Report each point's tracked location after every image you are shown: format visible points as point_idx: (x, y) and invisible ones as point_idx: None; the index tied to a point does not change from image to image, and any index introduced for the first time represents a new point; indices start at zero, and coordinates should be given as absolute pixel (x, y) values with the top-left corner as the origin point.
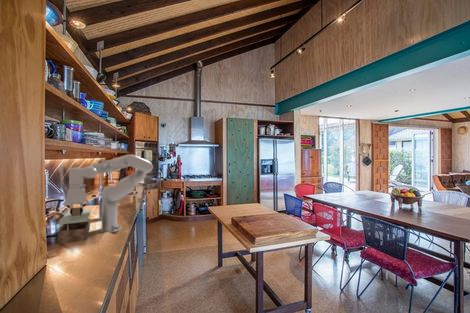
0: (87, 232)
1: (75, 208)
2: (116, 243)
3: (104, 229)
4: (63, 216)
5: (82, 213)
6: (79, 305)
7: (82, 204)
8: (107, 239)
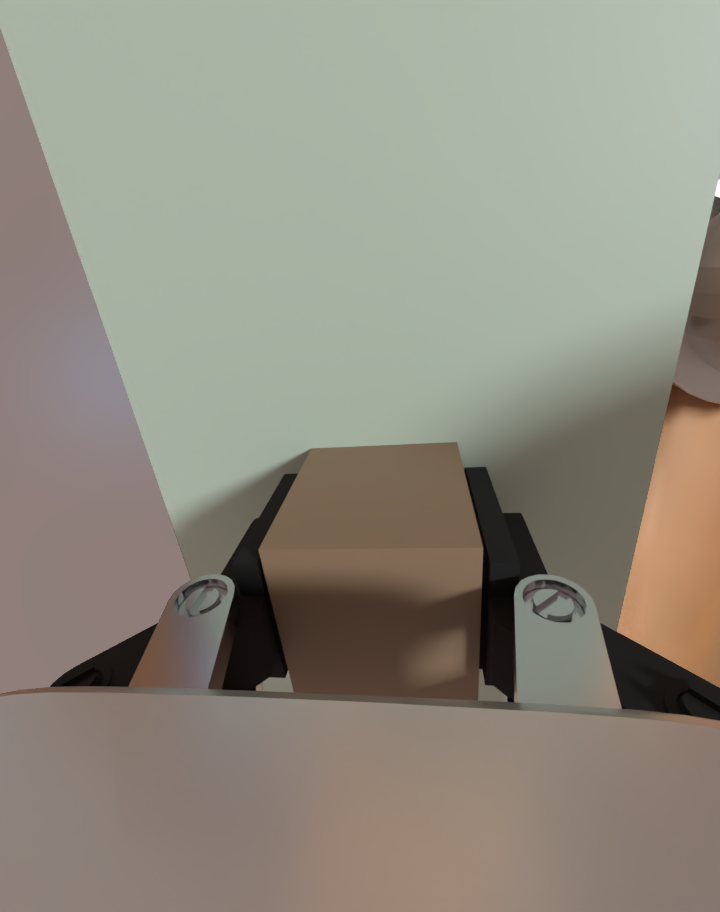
0: None
1: (352, 648)
2: (716, 669)
3: (718, 368)
4: (172, 516)
5: (494, 402)
6: None
7: (592, 705)
8: (673, 571)
